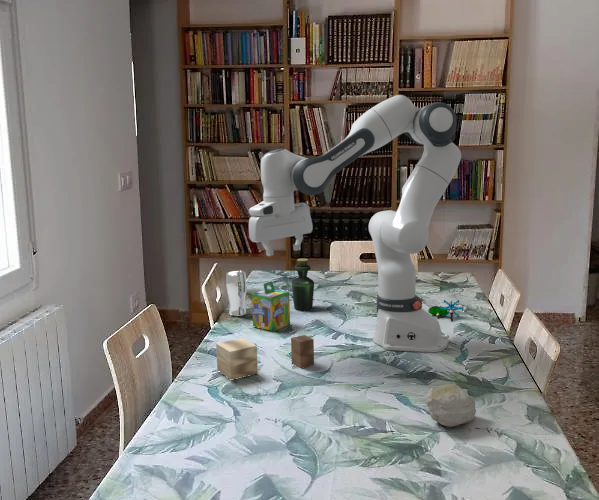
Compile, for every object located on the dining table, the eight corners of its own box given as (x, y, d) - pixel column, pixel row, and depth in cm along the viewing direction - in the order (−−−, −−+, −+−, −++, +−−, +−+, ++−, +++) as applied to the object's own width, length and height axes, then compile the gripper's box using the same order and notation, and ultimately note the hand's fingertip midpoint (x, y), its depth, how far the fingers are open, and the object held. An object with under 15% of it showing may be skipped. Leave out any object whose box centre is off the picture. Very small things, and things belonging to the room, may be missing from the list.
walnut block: (305, 360, 188) (304, 334, 187) (314, 365, 185) (313, 339, 183) (291, 363, 186) (290, 337, 184) (300, 368, 182) (299, 342, 181)
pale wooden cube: (243, 365, 185) (242, 337, 184) (257, 374, 179) (256, 345, 177) (217, 371, 181) (216, 343, 180) (230, 381, 175) (229, 351, 173)
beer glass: (246, 317, 230) (244, 275, 227) (226, 317, 230) (224, 275, 227) (248, 311, 237) (246, 270, 234) (228, 312, 237) (227, 270, 234)
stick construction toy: (466, 309, 226) (459, 295, 221) (467, 325, 221) (460, 311, 216) (432, 316, 231) (424, 302, 226) (432, 332, 226) (424, 318, 221)
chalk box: (273, 332, 213) (272, 287, 210) (251, 327, 219) (250, 283, 216) (291, 325, 220) (290, 281, 217) (269, 320, 226) (268, 278, 223)
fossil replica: (485, 419, 150) (445, 412, 156) (485, 383, 149) (444, 377, 155) (461, 435, 141) (419, 426, 147) (460, 397, 140) (418, 389, 146)
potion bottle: (312, 312, 234) (311, 262, 230) (289, 311, 235) (288, 261, 232) (316, 306, 242) (315, 257, 238) (294, 305, 243) (293, 257, 240)
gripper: (302, 201, 202) (306, 246, 204) (243, 210, 191) (248, 257, 193) (314, 201, 197) (318, 248, 199) (255, 210, 186) (260, 259, 188)
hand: (283, 252), depth 196 cm, fingers open, 8 cm apart
